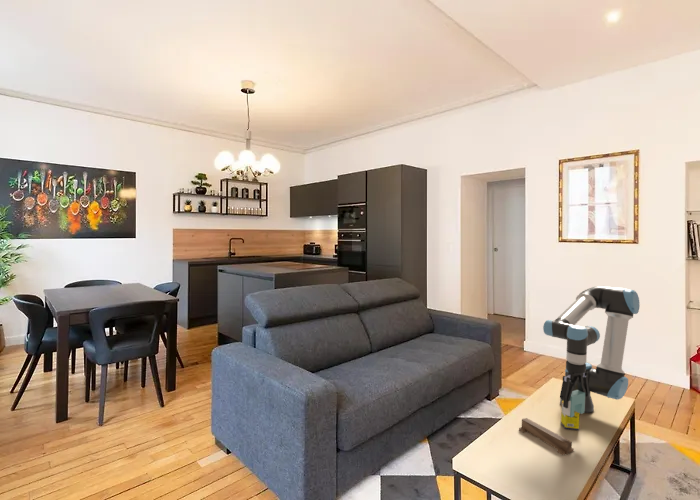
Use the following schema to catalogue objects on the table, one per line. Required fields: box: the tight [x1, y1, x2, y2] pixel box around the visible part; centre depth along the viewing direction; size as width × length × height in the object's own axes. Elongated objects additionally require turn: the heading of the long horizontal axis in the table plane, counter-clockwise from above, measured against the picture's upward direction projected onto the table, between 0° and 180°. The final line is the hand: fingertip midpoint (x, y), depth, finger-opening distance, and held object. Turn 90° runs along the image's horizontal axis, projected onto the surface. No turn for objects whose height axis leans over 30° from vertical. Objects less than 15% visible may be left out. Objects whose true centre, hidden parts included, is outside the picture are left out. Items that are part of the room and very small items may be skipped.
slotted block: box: [563, 390, 585, 417], centre depth 167 cm, size 9×4×9 cm, turn 116°
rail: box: [518, 417, 575, 456], centre depth 167 cm, size 7×22×4 cm, turn 26°
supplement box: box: [560, 401, 581, 431], centre depth 179 cm, size 6×6×11 cm
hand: (573, 412), depth 167 cm, fingers closed on slotted block, 9 cm apart
